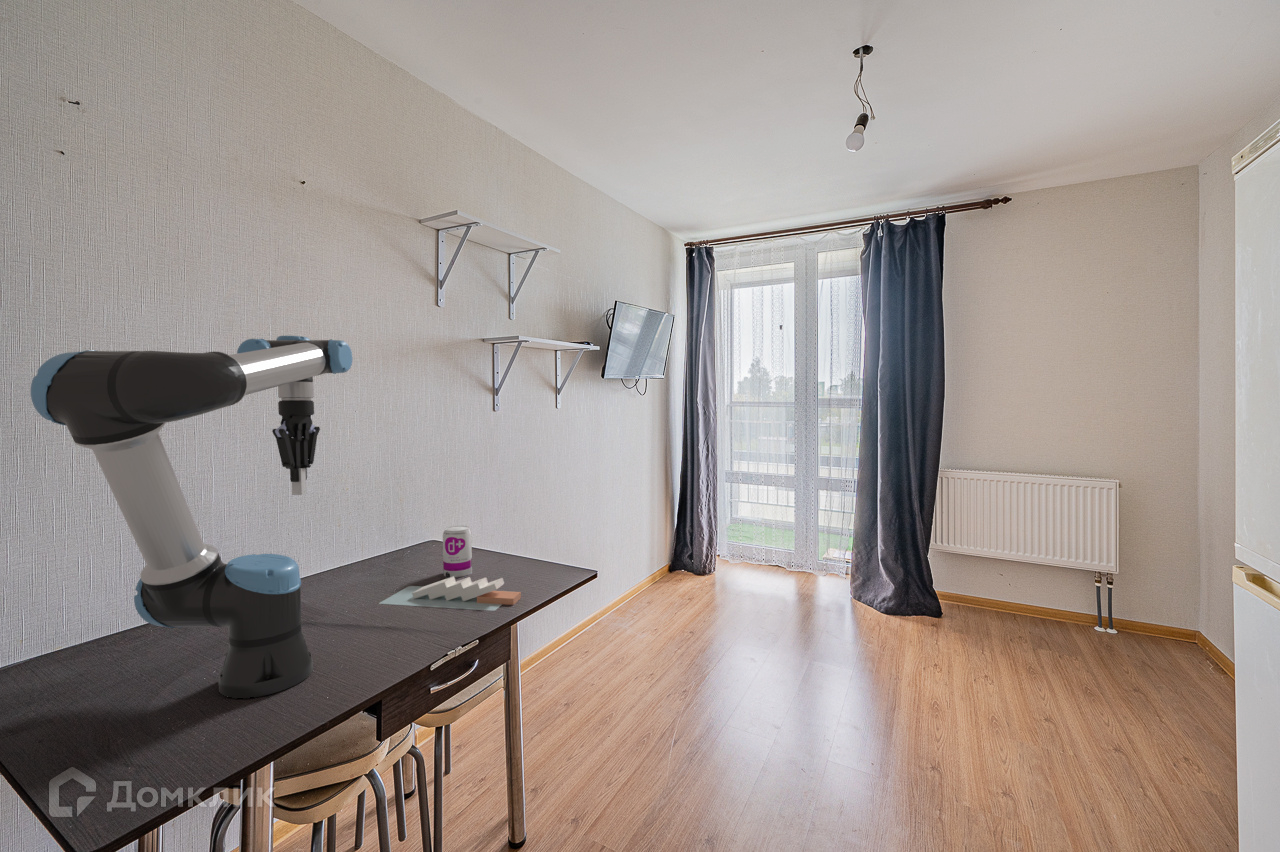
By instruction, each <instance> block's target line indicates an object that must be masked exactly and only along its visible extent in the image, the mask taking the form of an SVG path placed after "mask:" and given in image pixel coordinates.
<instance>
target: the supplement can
mask: <svg viewBox="0 0 1280 852" xmlns="http://www.w3.org/2000/svg"><path fill="white" fill-rule="evenodd" d="M472 541H473V540H472V531H471V529H470V527H469V526H467V525H452V526H448V527H446V528H445V529H444V531H443V533H442V561H443V562H442V565H443V571H442V572H443V577H446V578H450V577H453V576H454V578H455V579H456V578H462V577H463V578H464V577H466V576H470V575H472V574H473V557H472V555H473V554H472V552H473V549H472V548H473V546H472Z"/></svg>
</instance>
